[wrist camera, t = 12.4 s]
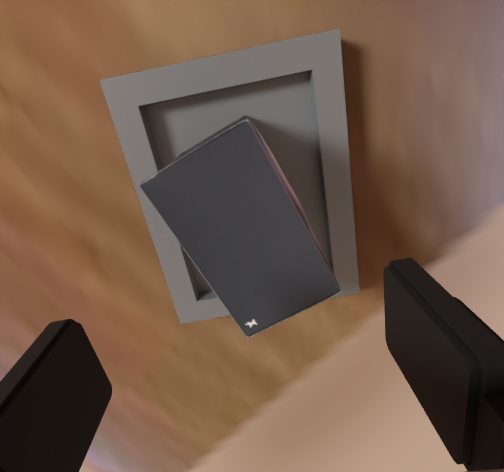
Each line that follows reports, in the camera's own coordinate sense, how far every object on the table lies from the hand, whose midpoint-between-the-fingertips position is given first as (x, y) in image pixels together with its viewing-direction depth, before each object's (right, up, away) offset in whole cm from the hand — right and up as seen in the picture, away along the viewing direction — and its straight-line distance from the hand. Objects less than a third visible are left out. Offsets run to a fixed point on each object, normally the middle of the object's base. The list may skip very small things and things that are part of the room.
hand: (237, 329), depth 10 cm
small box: (0, +6, +16) cm, 17 cm away
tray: (0, +6, +17) cm, 18 cm away
